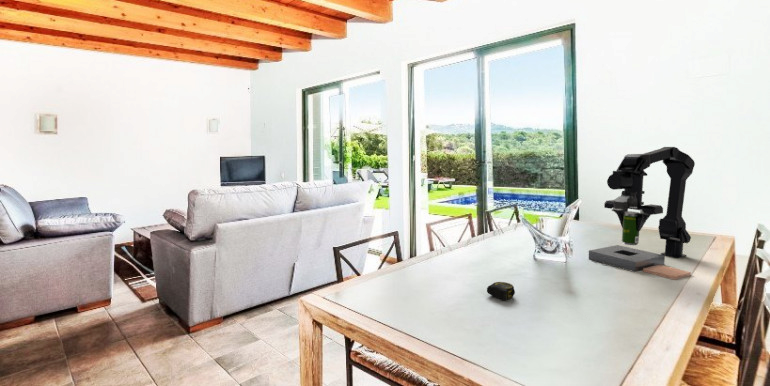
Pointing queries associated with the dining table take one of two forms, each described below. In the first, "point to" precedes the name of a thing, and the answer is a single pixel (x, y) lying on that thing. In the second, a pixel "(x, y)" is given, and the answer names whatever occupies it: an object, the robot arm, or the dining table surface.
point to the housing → (626, 257)
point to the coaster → (667, 271)
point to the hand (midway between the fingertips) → (630, 229)
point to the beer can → (630, 228)
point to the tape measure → (501, 290)
